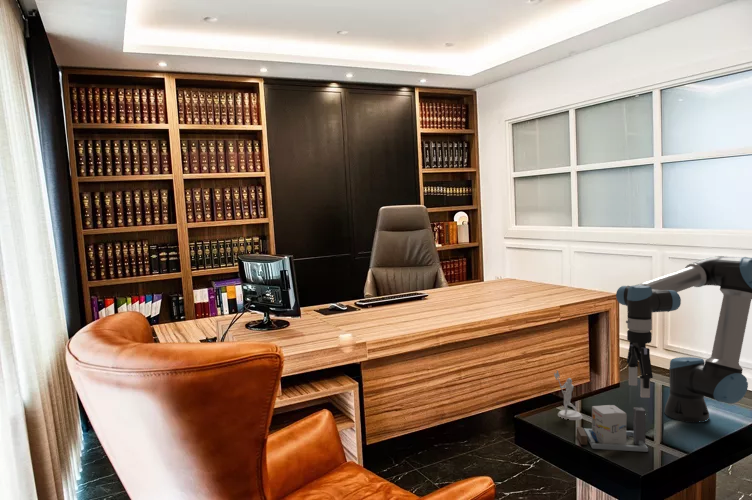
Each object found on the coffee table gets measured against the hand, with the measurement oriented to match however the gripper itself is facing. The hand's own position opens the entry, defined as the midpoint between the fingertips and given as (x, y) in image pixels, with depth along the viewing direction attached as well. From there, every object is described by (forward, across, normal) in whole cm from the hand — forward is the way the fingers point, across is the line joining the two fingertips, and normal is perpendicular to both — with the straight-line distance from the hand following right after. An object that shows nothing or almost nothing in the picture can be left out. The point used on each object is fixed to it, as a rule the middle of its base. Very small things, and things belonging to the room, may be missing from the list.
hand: (638, 391), depth 178 cm
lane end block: (+18, 0, -19) cm, 26 cm away
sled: (+18, 0, -7) cm, 20 cm away
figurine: (+19, -24, -19) cm, 36 cm away
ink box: (+19, 0, -10) cm, 21 cm away
